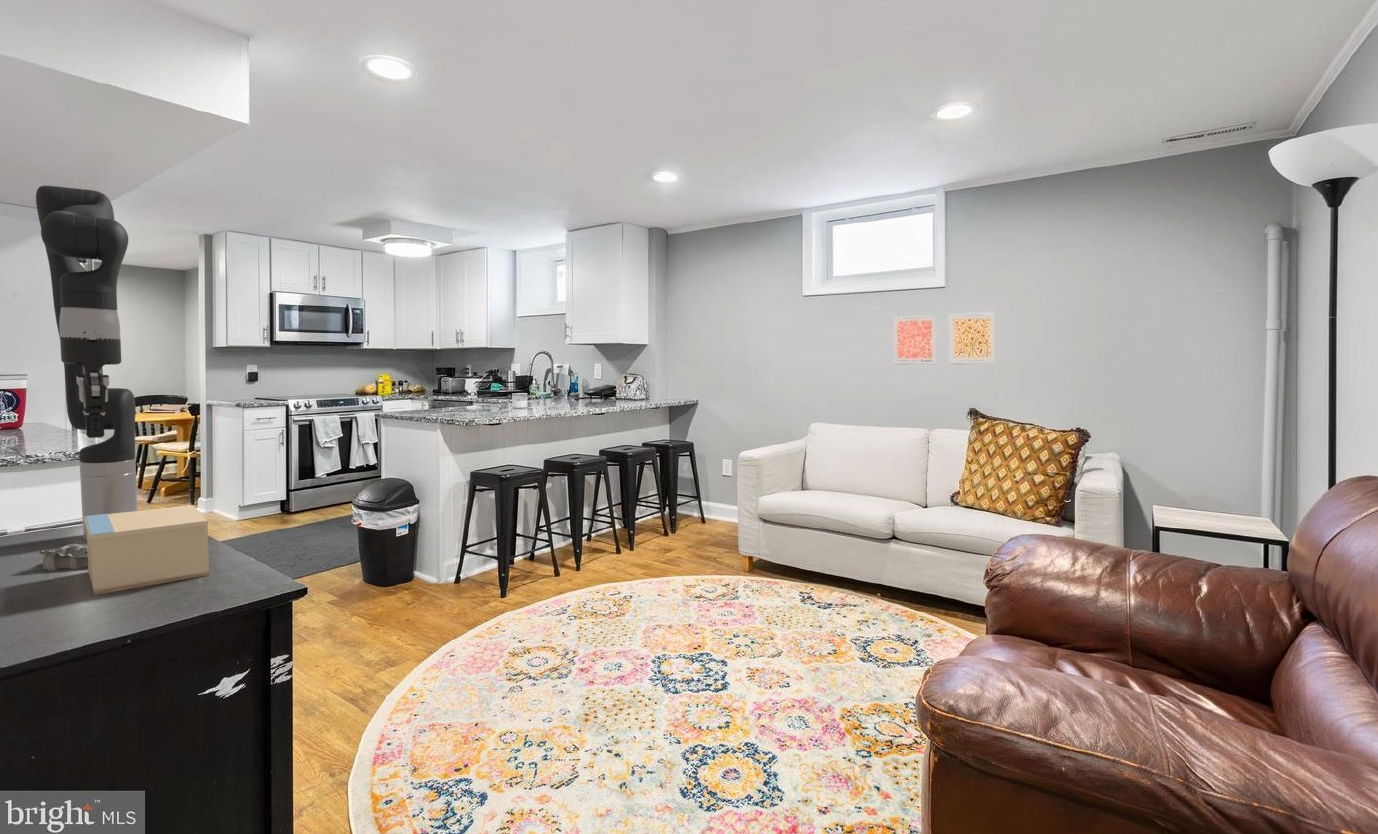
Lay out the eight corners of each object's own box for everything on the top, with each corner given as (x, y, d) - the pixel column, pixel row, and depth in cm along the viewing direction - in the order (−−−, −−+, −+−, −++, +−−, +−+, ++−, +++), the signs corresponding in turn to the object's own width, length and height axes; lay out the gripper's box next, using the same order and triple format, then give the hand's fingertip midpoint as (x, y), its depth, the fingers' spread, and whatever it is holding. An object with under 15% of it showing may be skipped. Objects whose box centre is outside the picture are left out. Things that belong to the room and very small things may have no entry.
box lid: (84, 520, 120) (84, 516, 120) (192, 508, 132) (192, 504, 131) (89, 539, 109) (89, 534, 108) (207, 524, 120) (207, 520, 120)
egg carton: (36, 572, 120) (34, 551, 120) (62, 560, 127) (60, 540, 127) (105, 569, 123) (103, 548, 123) (126, 557, 131) (125, 537, 130)
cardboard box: (88, 571, 121) (86, 520, 120) (194, 555, 132) (192, 509, 131) (93, 595, 110) (91, 539, 109) (209, 575, 121) (207, 524, 120)
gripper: (58, 334, 110) (63, 434, 112) (61, 334, 101) (66, 443, 103) (116, 337, 116) (120, 431, 117) (124, 337, 107) (128, 440, 108)
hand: (95, 437), depth 110 cm, fingers closed
